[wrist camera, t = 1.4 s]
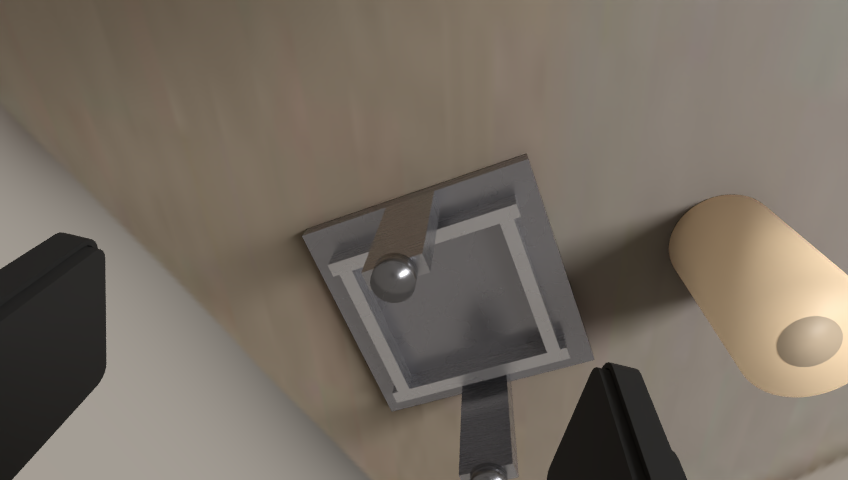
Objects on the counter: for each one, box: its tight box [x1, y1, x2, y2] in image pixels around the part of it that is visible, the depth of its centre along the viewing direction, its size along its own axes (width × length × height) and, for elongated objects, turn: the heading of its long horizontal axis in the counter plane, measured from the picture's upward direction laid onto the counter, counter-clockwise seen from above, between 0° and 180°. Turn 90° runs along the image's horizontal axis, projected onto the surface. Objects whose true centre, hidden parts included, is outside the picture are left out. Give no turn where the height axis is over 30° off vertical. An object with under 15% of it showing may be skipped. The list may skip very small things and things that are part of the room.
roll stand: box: [302, 154, 594, 480], centre depth 33 cm, size 14×15×10 cm
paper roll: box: [669, 195, 848, 397], centre depth 30 cm, size 6×6×10 cm
